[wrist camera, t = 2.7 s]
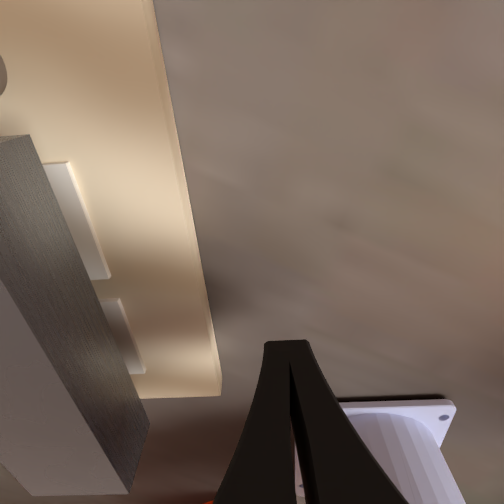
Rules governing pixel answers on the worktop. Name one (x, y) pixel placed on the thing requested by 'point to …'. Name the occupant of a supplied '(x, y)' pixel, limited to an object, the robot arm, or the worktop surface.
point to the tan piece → (115, 176)
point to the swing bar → (57, 350)
